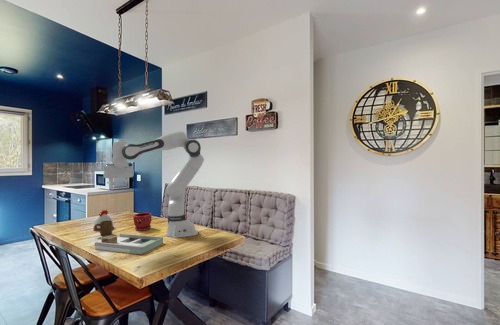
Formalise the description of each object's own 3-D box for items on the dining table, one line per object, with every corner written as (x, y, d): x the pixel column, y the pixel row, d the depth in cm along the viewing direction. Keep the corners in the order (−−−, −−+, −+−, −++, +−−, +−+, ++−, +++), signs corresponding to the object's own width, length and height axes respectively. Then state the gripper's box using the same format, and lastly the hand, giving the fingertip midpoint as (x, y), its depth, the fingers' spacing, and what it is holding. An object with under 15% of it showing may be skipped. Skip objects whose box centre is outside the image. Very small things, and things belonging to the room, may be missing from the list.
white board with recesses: (94, 248, 150) (94, 242, 150) (120, 239, 169) (120, 233, 169) (141, 254, 140) (141, 247, 140) (163, 243, 159) (162, 237, 159)
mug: (96, 238, 172) (96, 224, 172) (91, 236, 176) (91, 223, 177) (114, 233, 182) (114, 221, 182) (108, 232, 186) (108, 220, 187)
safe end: (129, 252, 143) (129, 246, 143) (152, 242, 162) (152, 236, 162) (141, 254, 140) (141, 248, 140) (163, 243, 159) (162, 237, 159)
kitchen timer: (117, 227, 203) (117, 208, 203) (104, 231, 189) (103, 212, 189) (103, 226, 206) (103, 208, 206) (89, 230, 192) (88, 211, 192)
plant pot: (136, 227, 201) (136, 212, 201) (153, 226, 202) (153, 212, 202) (130, 231, 188) (130, 216, 188) (148, 231, 189) (148, 215, 189)
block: (101, 244, 152) (101, 238, 152) (109, 241, 157) (109, 235, 157) (109, 245, 150) (109, 238, 150) (117, 242, 156) (117, 236, 156)
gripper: (107, 163, 156) (107, 185, 155) (135, 164, 174) (135, 183, 174) (101, 163, 158) (101, 185, 158) (129, 164, 177) (128, 183, 177)
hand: (119, 184), depth 166 cm, fingers open, 8 cm apart
